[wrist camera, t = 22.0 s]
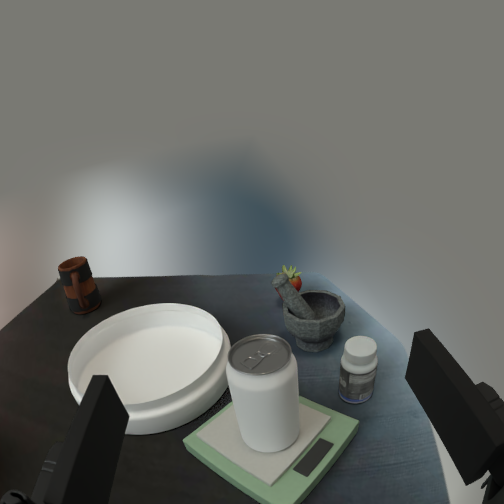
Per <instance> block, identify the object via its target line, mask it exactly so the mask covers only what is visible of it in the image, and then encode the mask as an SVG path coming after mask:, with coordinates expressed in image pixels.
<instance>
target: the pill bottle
mask: <svg viewBox="0 0 504 504" xmlns="http://www.w3.org/2000/svg"><path fill="white" fill-rule="evenodd" d="M376 351H377V345H376V342H375V341H374V340H373V339H371V338H369V337H365V336H355V337H352V338H350V339H349V340H347V342H346V343H345V348H344V354H343V355H342V358H341V366H340V379H339V395H340V397H341V398H342V399H343V400H344V401H346V402H348V403H354V404H357V403H363V402H365V401H367V400H368V399H369V398H370V397H371V395H372V392H373V388H374V381H375V376H376V370H377V364H378V359H377V356H376Z"/></svg>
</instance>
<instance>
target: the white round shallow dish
mask: <svg viewBox="0 0 504 504" xmlns="http://www.w3.org/2000/svg"><path fill="white" fill-rule="evenodd" d="M230 348H231V345H230V341H229V338H228V336H227V334H226V332H225V331H224V329H223V328H222V327H221V326H220V325H219V323H218V322H217V320H216V319H215V318H214V317H213V316H212V315H210V314H209V313H208V312H206V311H204V310H202V309H199V308H197V307H193V306H189V305H184V304H174V303H165V304H153V305H146V306H141V307H137V308H133V309H130V310H127V311H124V312H121V313H119V314H116V315H114V316H112V317H110V318H108V319H106V320H104V321H102V322H101V323H99V324H97V325H96V326H95V327H93V328H92V329H90V330H89V331H88V332H87V333H86V334H85V335H84V336H83V337H82V338H81V339H80V340H79V341H78V342H77V344H76V345H75V347H74V348H73V350H72V352H71V354H70V357H69V361H68V374H69V386H70V389H71V392H72V394H73V396H74V398H75V399H76V401H77V403H78V404H79V405H80V403H81V400H82V398H83V396H84V394H85V391H86V389H87V387H88V385H89V382H90V380H91V378H92V376H93V375H108V376H109V378H110V380H111V382H112V384H113V386H114V388H115V390H116V392H117V394H118V396H119V398H120V400H121V401H122V403H123V405H124V407H125V409H126V410H127V412H128V414H129V416H130V417H129V421H128V424H127V428H126V432H125V434H133V435H142V434H153V433H159V432H163V431H168V430H171V429H174V428H177V427H179V426H182V425H184V424H186V423H188V422H190V421H192V420H194V419H195V418H197V417H199V416H200V415H202V414H203V413H204V412H206V411H207V410H208V409H209V408H211V407H212V406H213V405H214V404H215V403H216V402H217V401H218V400H219V398H220V397H221V396H222V395H223V393H224V392H225V390H226V389H227V387H228V385H229V384H228V380H227V375H226V366H227V362H228V352H229V350H230Z"/></svg>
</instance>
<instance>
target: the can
mask: <svg viewBox="0 0 504 504" xmlns="http://www.w3.org/2000/svg"><path fill="white" fill-rule="evenodd" d="M226 375H227V380H228V384H229V389H230V393H231V397H232V401H233V405H234V409H235V413H236V417H237V421H238V425H239V429H240V432H241V436H242V438H243V440H244V442H245V443H246V444H247V445H248V446H249V447H250V448H252V449H254V450H256V451H260V452H277V451H280V450H283V449H285V448H287V447H289V446H290V445H291V444H292V443H293V442H294V441H295V440H296V439H297V437H298V434H299V428H300V422H299V391H298V371H297V362H296V359H295V357H294V355H293V353H292V350H291V347H290V345H289V343H288V342H287V341H286V340H284V339H283V338H281V337H278V336H275V335H270V334H257V335H252V336H248V337H245V338H243V339H241V340H239V341H238V342H236V343H235V344H234V345H233V346H232V347H231V348H230V350H229V352H228V362H227V366H226Z"/></svg>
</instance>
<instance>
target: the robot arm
mask: <svg viewBox="0 0 504 504" xmlns="http://www.w3.org/2000/svg"><path fill="white" fill-rule="evenodd" d="M405 379H406V381H407V382H408V384H409V386H410V387H411V389H412V391H413V392H414V394H415V396H416V397H417V399H418V401H419V402H420V404H421V406H422V407H423V409H424V411H425V412H426V414H427V416H428V418H429V419H430V421H431V423H432V424H433V426H434V428H435V430H436V431H437V433H438V435H439V436H440V438H441V440H442V442H443V444H444V446H445V447H446V449H447V451H448V453H449V455H450V456H451V458H452V460H453V462H454V464H455V466H456V468H457V469H458V471H459V473H460V475H461V477H462V479H463V481H464V483H465V485H466V486H467V485H469V484H471V483H473V482H474V481H476V480H478V479H480V478H481V477H483V475H484V474H485V473H486V472H487V470H489V472H490V474H491V475H490V476H489V477H488V478H487V479H486V481H485V482H484V483H483V484H482V486H481V489H483V488H484V487H485V486H486V485H487V487H486V491H485V495H484V499H483V502H482V504H504V402H503V400H502V399H500V398H499V395H498V394H497V393H496V391H495V390H494V389H493V388H492V387H490V386H489V385H487V384H486V383H484V382H481V383H479V384H477V385H475V384H474V383H473V382H472V380H471V379H470V378H469V377H468V375H467V374H466V373H465V372H464V370H463V369H462V368H461V367H460V365H459V364H458V363H457V362H456V360H455V359H454V358H453V357H452V355H451V354H450V353H449V352H448V351H447V349H446V348H445V347H444V346H443V345H442V343H441V342H440V341H439V340H438V339H437V338H436V336H435V335H434V334H433V333H432V332H431V330H430V329H425V330H421V331H418V332H414V337H413V342H412V347H411V352H410V357H409V362H408V366H407V371H406V375H405ZM129 417H130V416H129V414H128V412H127V410H126V409H125V407H124V405H123V403H122V401H121V400H120V398H119V396H118V394H117V392H116V390H115V388H114V386H113V384H112V382H111V380H110V378H109V376H108V375H93V376H92V378H91V380H90V382H89V385H88V387H87V389H86V391H85V394H84V396H83V398H82V400H81V403H80V405H79V407H78V410H77V412H76V414H75V417H74V419H73V421H72V424H71V426H70V429H69V431H68V434H67V436H66V438H65V441H64V443H63V442H56V443H55V444H54V445H53V446H52V447H51V448H50V450H49V451H48V454H47V456H46V459H45V462H44V464H43V466H42V470H41V471H40V474H39V477H38V479H37V482H36V485H35V488H34V490H33V493H32V496H31V498H29V497H28V496H26V495H25V494H24V493H23V492H21V491H20V490H16V489H14V490H9V491H8V492H6V493H5V494H4V495H3V497H2V499H1V502H0V504H108V501H109V497H110V492H111V488H112V484H113V479H114V475H115V471H116V467H117V463H118V459H119V455H120V451H121V447H122V443H123V439H124V435H125V432H126V428H127V424H128V421H129Z"/></svg>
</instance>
